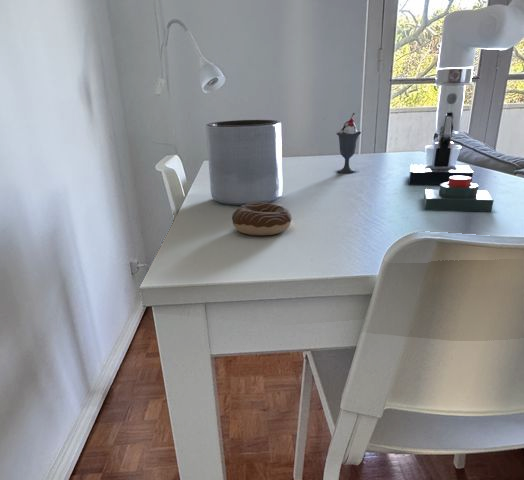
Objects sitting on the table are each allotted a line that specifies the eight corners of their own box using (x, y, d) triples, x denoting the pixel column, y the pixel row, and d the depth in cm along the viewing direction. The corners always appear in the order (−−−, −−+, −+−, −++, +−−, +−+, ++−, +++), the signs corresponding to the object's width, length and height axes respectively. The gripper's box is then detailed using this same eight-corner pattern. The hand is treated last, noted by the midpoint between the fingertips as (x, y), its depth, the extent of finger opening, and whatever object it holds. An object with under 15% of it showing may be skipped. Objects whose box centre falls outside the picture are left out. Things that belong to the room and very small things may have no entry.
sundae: (353, 174, 129) (357, 113, 122) (330, 172, 132) (333, 113, 125) (362, 170, 134) (366, 111, 126) (340, 169, 137) (343, 111, 130)
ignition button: (468, 185, 94) (470, 175, 93) (470, 189, 90) (472, 179, 89) (447, 184, 95) (448, 175, 94) (448, 188, 91) (450, 179, 90)
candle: (415, 171, 130) (418, 146, 127) (440, 168, 133) (444, 143, 130) (438, 175, 123) (442, 149, 120) (464, 172, 126) (469, 146, 123)
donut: (239, 221, 89) (238, 199, 87) (295, 222, 87) (295, 200, 85) (225, 237, 80) (224, 213, 78) (287, 239, 78) (287, 214, 76)
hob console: (466, 178, 119) (468, 164, 117) (470, 185, 110) (473, 171, 109) (409, 177, 122) (410, 164, 121) (409, 184, 114) (410, 171, 112)
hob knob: (431, 166, 117) (434, 140, 114) (448, 167, 116) (453, 140, 113) (431, 169, 114) (435, 142, 111) (449, 169, 113) (454, 142, 110)
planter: (207, 208, 99) (200, 126, 91) (215, 192, 113) (209, 121, 105) (283, 206, 98) (283, 124, 91) (281, 190, 112) (281, 118, 105)
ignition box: (484, 201, 96) (488, 181, 94) (491, 211, 89) (495, 190, 87) (423, 200, 99) (426, 180, 97) (424, 210, 92) (427, 188, 90)
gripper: (475, 77, 97) (459, 170, 107) (467, 77, 111) (454, 159, 121) (437, 79, 99) (424, 170, 108) (434, 78, 113) (423, 159, 122)
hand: (440, 163), depth 114 cm, fingers open, 4 cm apart
